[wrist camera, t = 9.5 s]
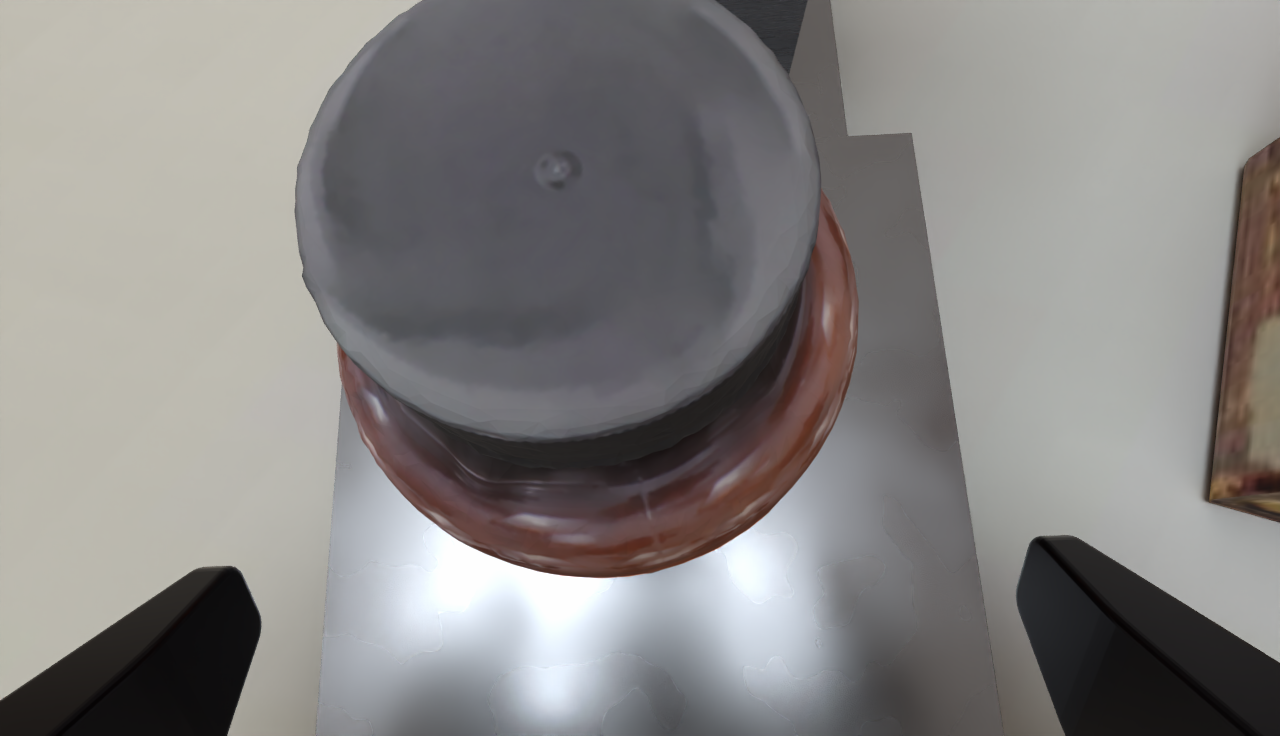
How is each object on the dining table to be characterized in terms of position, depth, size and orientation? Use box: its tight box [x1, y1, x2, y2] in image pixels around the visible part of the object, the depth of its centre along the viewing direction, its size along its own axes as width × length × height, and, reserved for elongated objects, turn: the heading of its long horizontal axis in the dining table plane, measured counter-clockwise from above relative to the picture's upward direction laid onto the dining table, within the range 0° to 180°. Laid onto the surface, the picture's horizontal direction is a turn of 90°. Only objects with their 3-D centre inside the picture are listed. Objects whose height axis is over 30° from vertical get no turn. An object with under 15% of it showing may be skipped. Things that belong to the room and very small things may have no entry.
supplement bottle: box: [295, 0, 859, 578], centre depth 11 cm, size 6×6×11 cm
